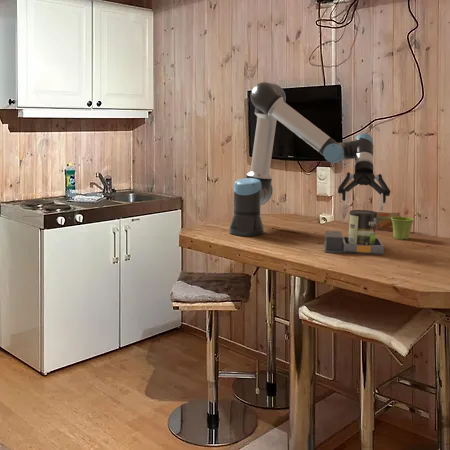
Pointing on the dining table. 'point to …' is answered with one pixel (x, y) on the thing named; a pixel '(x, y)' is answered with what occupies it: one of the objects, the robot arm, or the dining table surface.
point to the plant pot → (401, 227)
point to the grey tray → (350, 245)
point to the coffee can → (362, 227)
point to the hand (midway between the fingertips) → (363, 207)
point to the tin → (385, 221)
